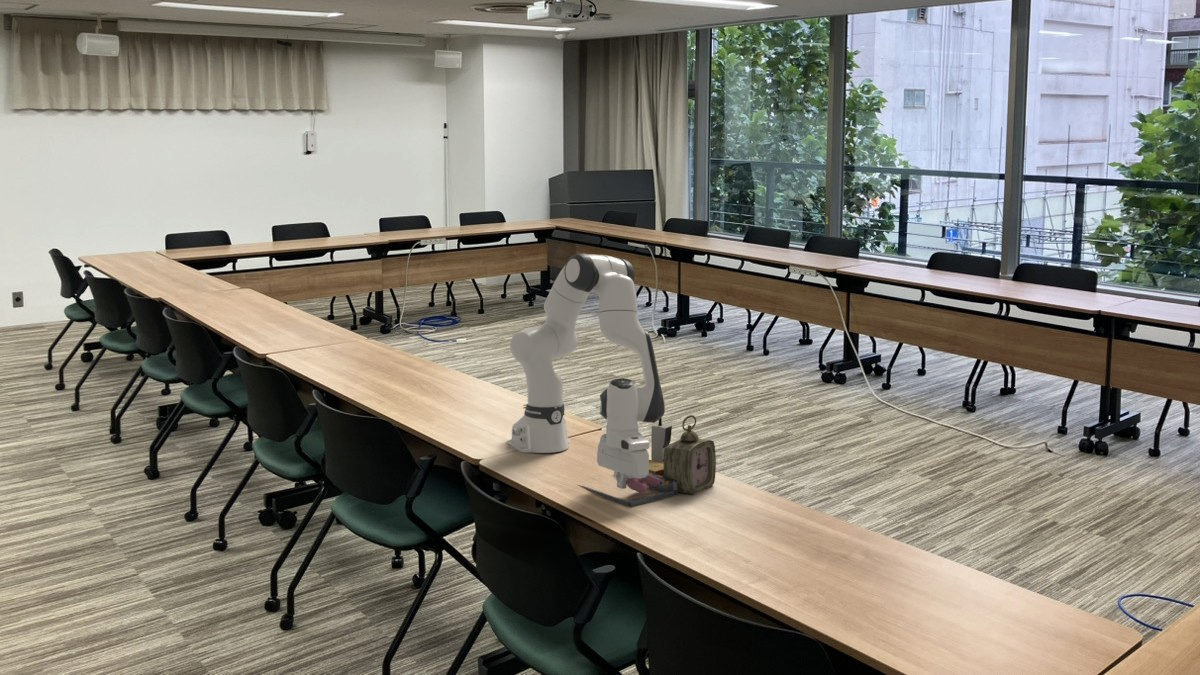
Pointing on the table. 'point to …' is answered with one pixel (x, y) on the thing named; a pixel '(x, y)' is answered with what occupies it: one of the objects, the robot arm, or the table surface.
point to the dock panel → (666, 488)
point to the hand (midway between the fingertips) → (621, 488)
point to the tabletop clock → (690, 461)
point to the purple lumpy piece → (642, 483)
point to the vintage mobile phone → (660, 440)
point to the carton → (656, 468)
